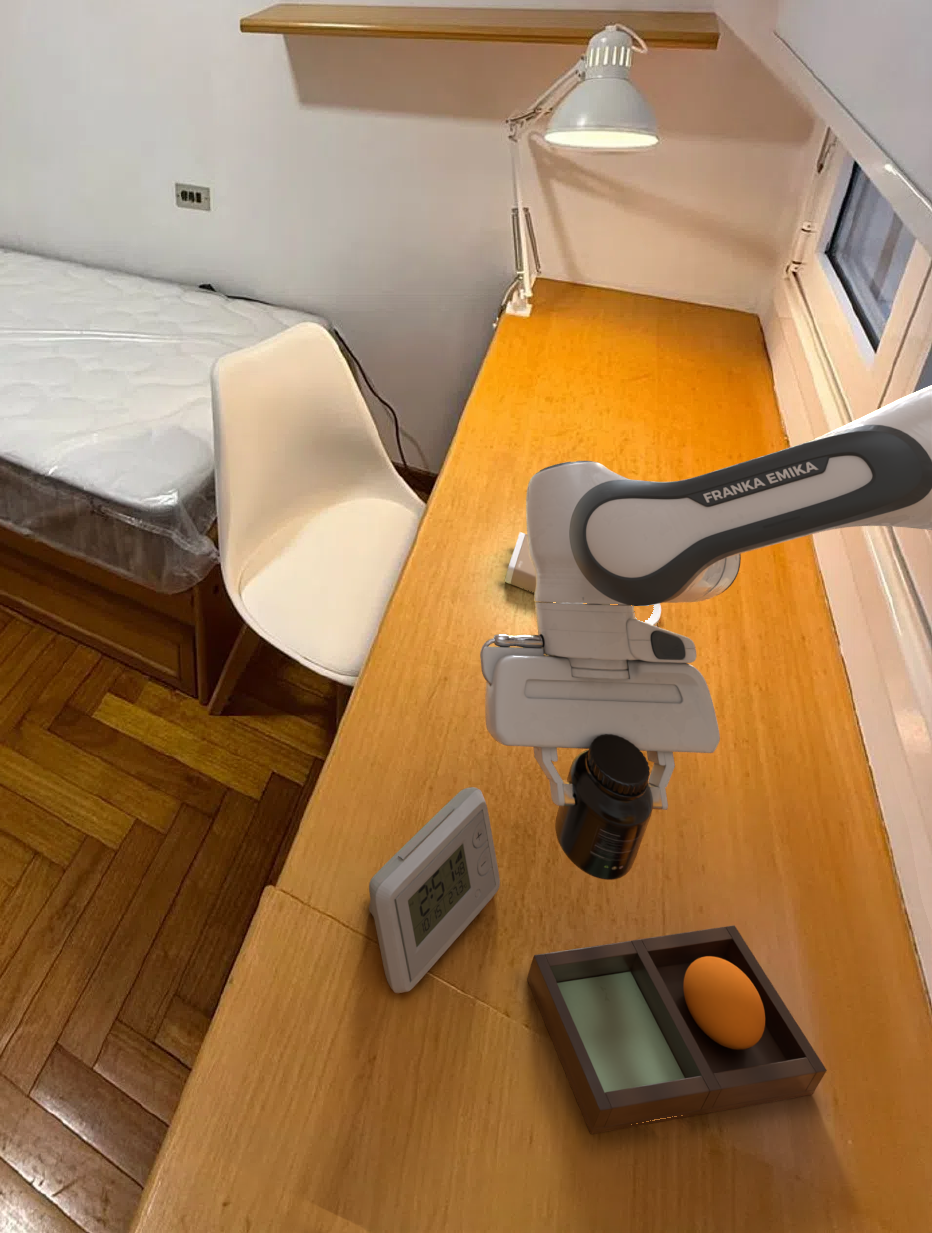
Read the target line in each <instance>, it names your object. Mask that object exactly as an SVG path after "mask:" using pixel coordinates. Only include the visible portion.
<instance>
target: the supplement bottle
mask: <svg viewBox="0 0 932 1233" xmlns="http://www.w3.org/2000/svg"><path fill="white" fill-rule="evenodd" d="M650 774H651V771H650V766H649V762H648V759H647V756H645V755H644V753H643V751H640V750H639V749H638V748H637V747H636V746H635V745H634V744H633V743H631V742H629V741H628V740H626V739H624V738H623V737H619V736H617V735H612V734H609V735H608V734H605V735H600V736H597V738H595V739H594V740H593V742H592V743H591V745H590V748H589V749H585V750H584V751H581V752H580V753H578V754H577V755H576V756H575V757H574V759H573V760H572V762H571V764H570V767H569V771H568V773H567V777H566V779H565V780H566V781H568V782H570V783H572V784H573V789H574V794H573V797H574V798H575V806H558V807H557V808H558V809H557V812H556V816H555V823H554V829H555V830H554V832H555V835H556V838H557V841H558V844H559V846H560V848H561V850H562V852H564V854H565V856H566V857H567V858H568V859H569V861H570V862H571V863H572V864H573V865H574V866H576V867H577V868H578V869H580V870H581V871H582V872H584V873H585V874H587V875H589V876H591V877H594V878H596V879H600V880H603V881H605V880H607V881H614V880H618V879H621V878H623V877H625V876H626V875H627V874H628V873H629V872H630V870H631V869H632V868H633V865H634V863H635V861H636V858H637V855H638V852H639V850H640V847H641V845H642V841H643V838H644V836H645V833H646V830H647V827H648V825H649V822H650V820H651V817H652V813H653V810H654V809H653V796H652V792H651V789H650V787H649V784H648V783H649V782H648V781H649V778H650Z"/></svg>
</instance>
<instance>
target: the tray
mask: <svg viewBox="0 0 932 1233" xmlns="http://www.w3.org/2000/svg"><path fill="white" fill-rule="evenodd" d="M707 956H712V957H718V958H721V959H724V960H726V961H728V962H730V963H732V964H733V965H735V966H736V967H738V968H739V969H740V970H741V971H742V972H743V973H744V974H745V975H746V976H747V977H748V978H749V979H750V981H751V982H752V983H753V985H754V986H755V988H756V990H757V991H758V993H759V996H760V998H761V1001H762V1003H763V1007H764V1012H765V1028H764V1032H763V1034H762V1037H761V1038H760V1040H759V1041H758V1042H757V1043H756V1044H755V1045H754V1046H752V1047H750V1048H747V1049H742V1050H736V1049H731V1048H727V1047H724V1046H722V1045H720V1044H718V1043H717V1042H715V1041H714V1040H712V1039H711V1038H710V1037H709V1036H708V1035H706V1034H705V1033H704V1032H703V1031H702V1030H701V1028H700V1027H699V1026H698V1025H697V1023H696V1022H695V1020H694V1019H693V1017H692V1015H691V1013H690V1011H689V1009H688V1006H687V1004H686V1000H685V996H684V988H683V983H684V977H685V973H686V971H687V969H688V967H689V966H690V965H691V963H693V962H694V961H695V960H697V959H699V958H701V957H707ZM526 980H527V983H528V985H529V987H530V990H531V992H532V995H533V997H534V1000H535V1002H536V1005H537V1007H538V1010H539V1012H540V1014H541V1017H542V1019H543V1022H544V1024H545V1026H546V1029H547V1030H548V1031H547V1032H548V1034H549V1036H550V1038H551V1042H552V1044H553V1047H554V1049H555V1051H556V1054H557V1056H558V1058H559V1061H560V1064H561V1066H562V1068H563V1071H564V1073H565V1075H566V1078H567V1080H568V1083H569V1085H570V1088H571V1090H572V1092H573V1095H574V1096H575V1100H576V1103H577V1104H578V1107H579V1109H580V1112H581V1114H582V1117H583V1119H584V1122H585V1124H586V1127H587V1130H588V1131H589V1134H590V1135H594V1134H600V1133H605V1132H610V1131H616V1130H621V1129H626V1128H627V1129H628V1128H632V1127H638V1126H644V1125H649V1124H655V1123H660V1122H667V1121H672V1120H677V1119H683V1118H688V1117H695V1116H700V1115H706V1114H711V1113H716V1112H721V1111H727V1110H732V1109H738V1108H745V1107H749V1106H755V1105H762V1104H767V1103H773V1102H777V1101H782V1100H788V1099H794V1098H799V1097H807V1096H811V1095H814V1093H815V1091H816V1089H817V1088H818V1086H819V1084H820V1083H821V1081H822V1080H823V1078H824V1076H825V1075H826V1073H827V1071H828V1069H827V1068H826V1066H825V1065H824V1064H823V1062H822V1061H821V1059H820V1057H819V1056H818V1054H817V1052H816V1051H815V1050H814V1048H813V1046H812V1045H811V1043H810V1042H809V1040H808V1038H807V1037H806V1035H805V1034H804V1032H803V1030H802V1029H801V1028H800V1026H799V1024H798V1022H797V1021H796V1019H795V1018H794V1017H793V1015H792V1013H791V1011H790V1010H789V1008H788V1007H787V1005H786V1004H785V1002H784V1001H783V999H782V997H781V995H779V993H778V991H777V990H776V988H775V987H774V985H773V984H772V982H771V980H770V979H769V977H768V975H767V974H766V972H765V971H764V969H763V968H762V966H761V964H760V963H759V961H758V960H757V958H756V957H755V955H754V953H753V952H752V950H751V949H750V947H749V946H748V944H747V943H746V941H745V939H744V937H743V936H742V934H741V933H740V931H739V929H738V928H737V926H736V925H728V926H720V927H713V928H705V929H700V930H699V929H698V930H694V931H686V932H685V931H684V932H680V933H674V934H673V933H672V934H666V935H660V936H653V937H652V936H651V937H645V938H638V939H633V940H625V941H619V942H613V943H607V944H599V945H593V946H586V947H580V948H579V947H578V948H572V949H566V950H560V951H552V952H546V953H538V954H534V955H533V958H532V961H531V963H530V967H529V971H528V974H527V977H526ZM681 1115H683V1116H681ZM672 1116H673V1117H672ZM674 1116H677V1117H674ZM667 1117H671V1118H667ZM660 1118H666V1119H660ZM654 1119H660V1120H655V1121H652V1120H654ZM650 1120H651V1121H650ZM646 1121H649V1122H646ZM642 1122H644V1123H642ZM636 1123H638V1124H636ZM631 1124H632V1125H631Z"/></svg>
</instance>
